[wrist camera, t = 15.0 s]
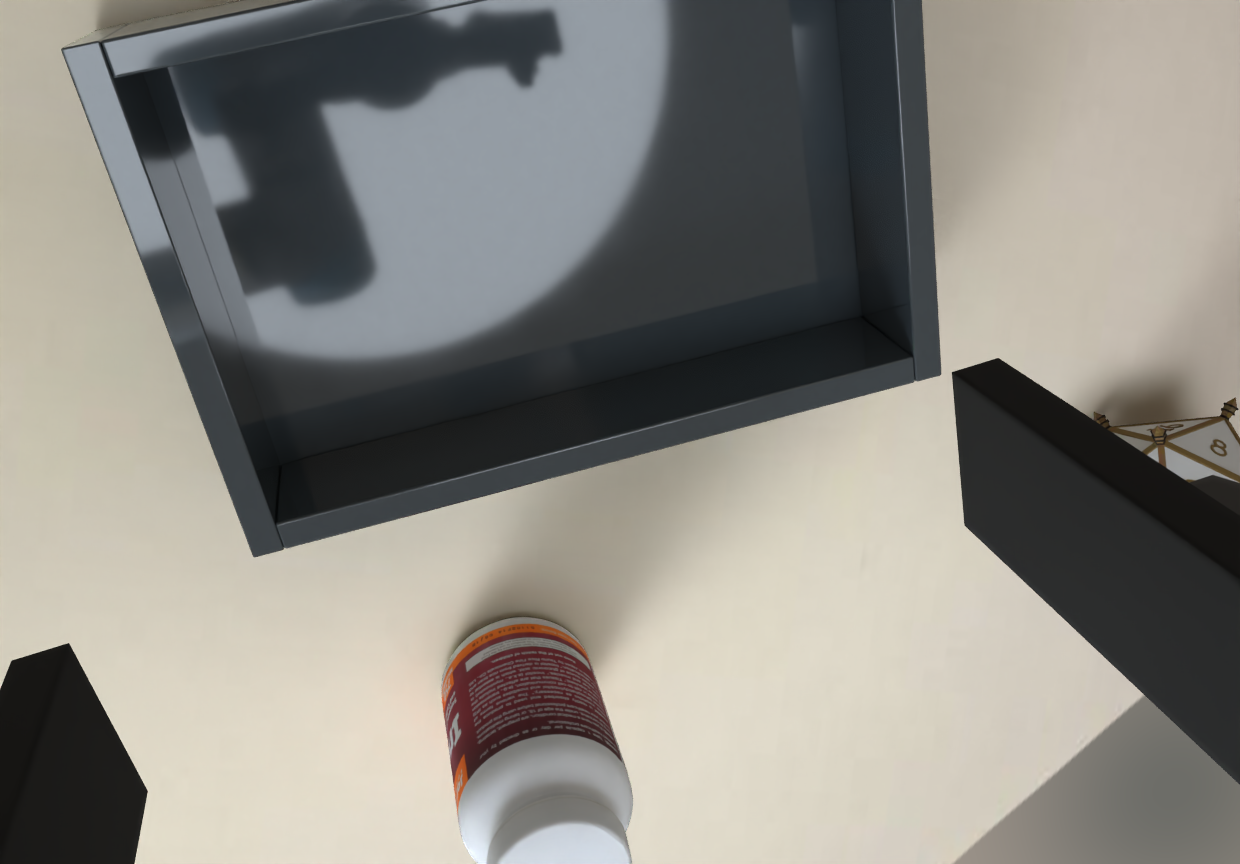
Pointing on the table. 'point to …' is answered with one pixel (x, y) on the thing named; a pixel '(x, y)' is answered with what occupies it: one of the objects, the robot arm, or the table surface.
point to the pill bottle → (533, 749)
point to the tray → (514, 231)
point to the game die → (1188, 444)
